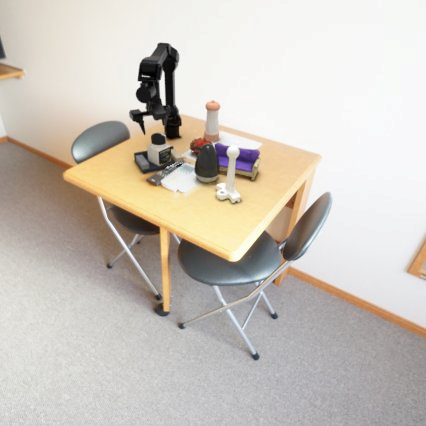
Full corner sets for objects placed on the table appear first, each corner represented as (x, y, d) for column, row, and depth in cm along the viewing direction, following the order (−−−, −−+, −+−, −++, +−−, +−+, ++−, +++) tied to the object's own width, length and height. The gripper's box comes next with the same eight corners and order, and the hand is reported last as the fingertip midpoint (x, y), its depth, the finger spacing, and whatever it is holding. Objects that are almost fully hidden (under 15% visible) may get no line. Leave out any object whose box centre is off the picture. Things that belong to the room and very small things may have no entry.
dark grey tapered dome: (194, 172, 133) (195, 137, 124) (219, 173, 133) (222, 139, 124) (192, 184, 125) (192, 149, 116) (218, 186, 125) (221, 151, 116)
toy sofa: (206, 171, 134) (206, 148, 128) (212, 162, 141) (214, 140, 135) (254, 181, 129) (257, 158, 123) (259, 171, 136) (262, 149, 130)
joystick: (242, 200, 118) (249, 151, 106) (226, 206, 115) (230, 156, 102) (225, 186, 125) (229, 138, 113) (209, 191, 122) (211, 143, 110)
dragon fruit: (187, 158, 146) (210, 157, 151) (194, 155, 138) (218, 154, 144) (184, 140, 146) (207, 139, 151) (192, 135, 138) (216, 135, 144)
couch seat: (173, 153, 146) (172, 145, 144) (183, 165, 138) (183, 157, 135) (134, 161, 139) (133, 152, 137) (143, 173, 131) (142, 165, 128)
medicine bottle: (159, 166, 133) (157, 139, 126) (148, 161, 136) (145, 134, 129) (171, 160, 137) (170, 134, 130) (160, 155, 141) (158, 129, 134)
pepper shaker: (205, 135, 164) (206, 97, 152) (219, 136, 163) (221, 98, 152) (203, 141, 158) (204, 102, 147) (217, 142, 158) (220, 103, 146)
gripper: (135, 104, 114) (139, 144, 124) (183, 98, 121) (183, 136, 131) (126, 95, 122) (131, 133, 131) (172, 90, 129) (173, 126, 138)
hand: (155, 133), depth 133 cm, fingers open, 9 cm apart
